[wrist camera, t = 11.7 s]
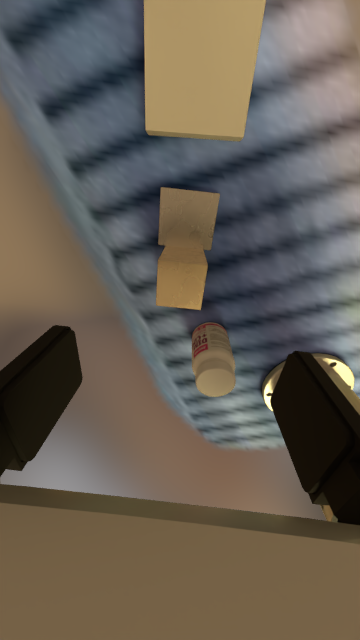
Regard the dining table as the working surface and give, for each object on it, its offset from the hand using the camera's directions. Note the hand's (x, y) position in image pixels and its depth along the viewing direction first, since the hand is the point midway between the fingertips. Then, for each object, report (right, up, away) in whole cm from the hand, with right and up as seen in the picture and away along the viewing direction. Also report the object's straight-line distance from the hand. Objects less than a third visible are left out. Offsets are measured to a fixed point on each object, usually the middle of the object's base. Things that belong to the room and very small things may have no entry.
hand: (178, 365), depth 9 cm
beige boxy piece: (+1, +11, +13) cm, 17 cm away
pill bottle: (+4, 0, +19) cm, 20 cm away
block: (+1, +18, +9) cm, 20 cm away
